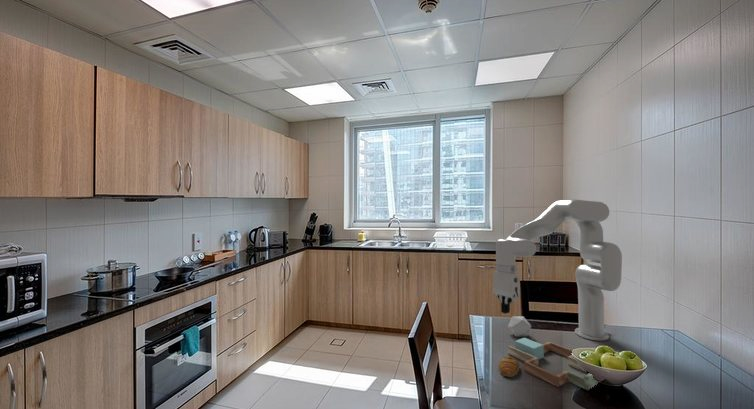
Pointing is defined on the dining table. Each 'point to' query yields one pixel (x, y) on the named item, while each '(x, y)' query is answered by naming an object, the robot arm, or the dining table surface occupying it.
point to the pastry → (509, 366)
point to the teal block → (530, 347)
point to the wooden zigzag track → (556, 380)
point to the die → (519, 326)
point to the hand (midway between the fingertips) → (505, 312)
